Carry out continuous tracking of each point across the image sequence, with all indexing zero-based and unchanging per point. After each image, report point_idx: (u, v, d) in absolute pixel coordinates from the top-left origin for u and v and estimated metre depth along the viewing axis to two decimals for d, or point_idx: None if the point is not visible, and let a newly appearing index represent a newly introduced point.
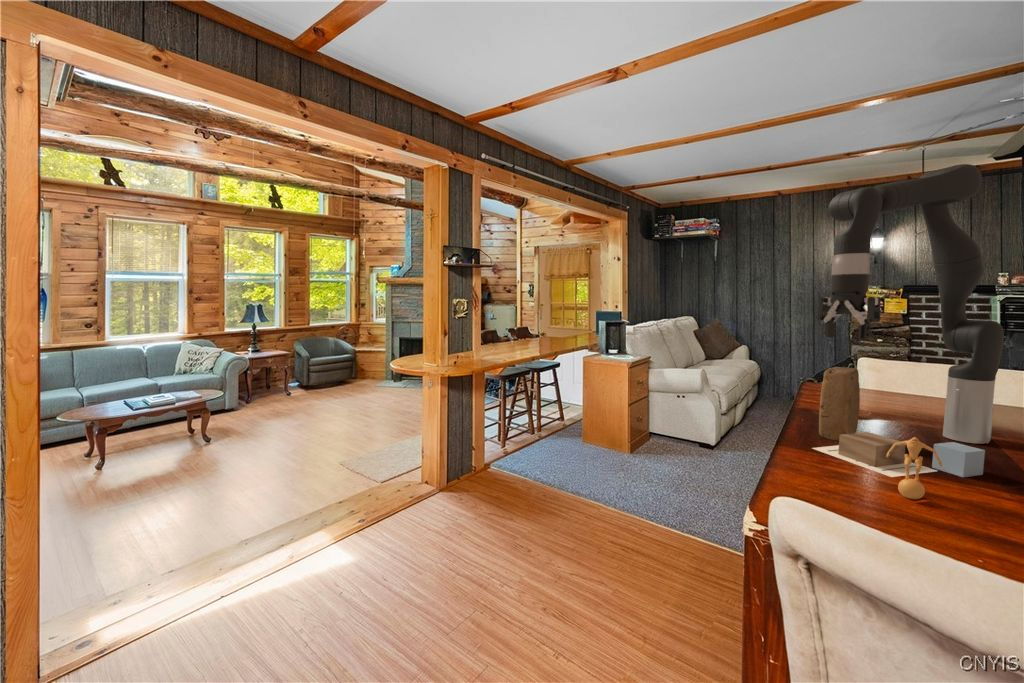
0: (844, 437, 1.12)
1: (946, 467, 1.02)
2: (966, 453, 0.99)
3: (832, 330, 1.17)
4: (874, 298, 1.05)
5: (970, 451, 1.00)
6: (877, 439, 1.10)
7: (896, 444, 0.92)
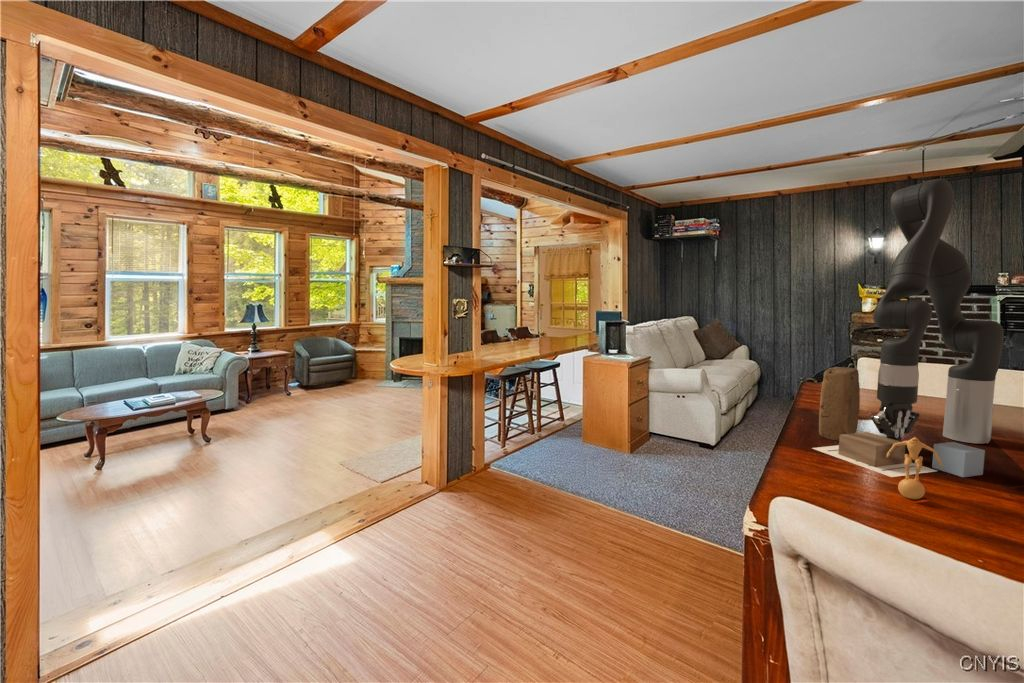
0: (844, 437, 1.12)
1: (946, 467, 1.02)
2: (966, 453, 0.99)
3: None
4: None
5: (970, 451, 1.00)
6: (877, 439, 1.10)
7: (896, 444, 0.92)
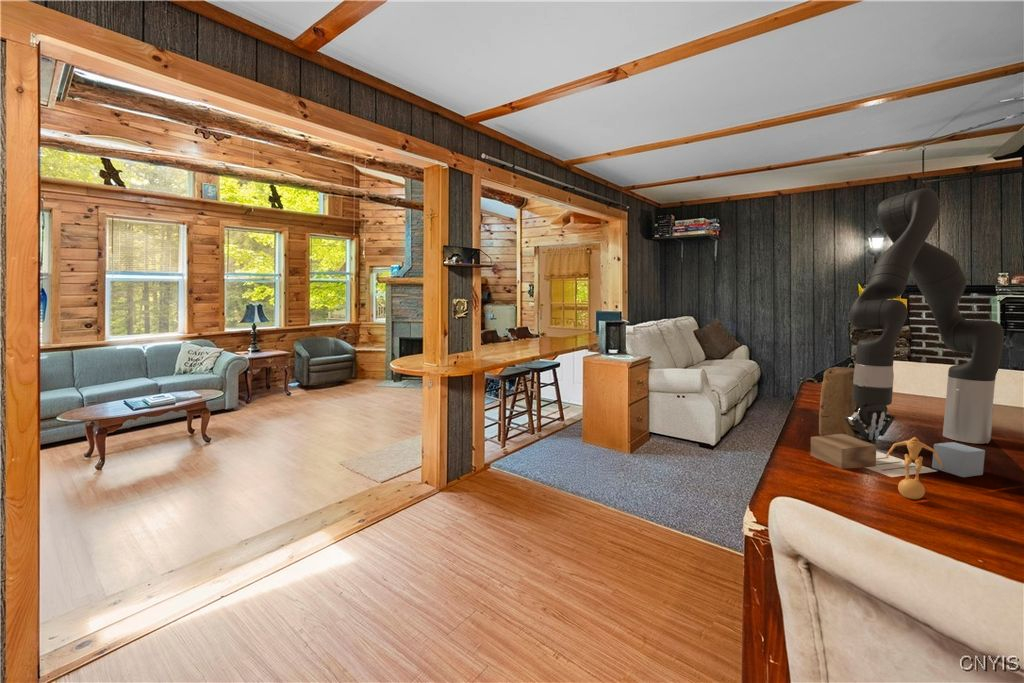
0: (815, 439, 1.12)
1: (946, 467, 1.02)
2: (966, 453, 0.99)
3: None
4: None
5: (970, 451, 1.00)
6: (848, 441, 1.08)
7: (896, 444, 0.92)
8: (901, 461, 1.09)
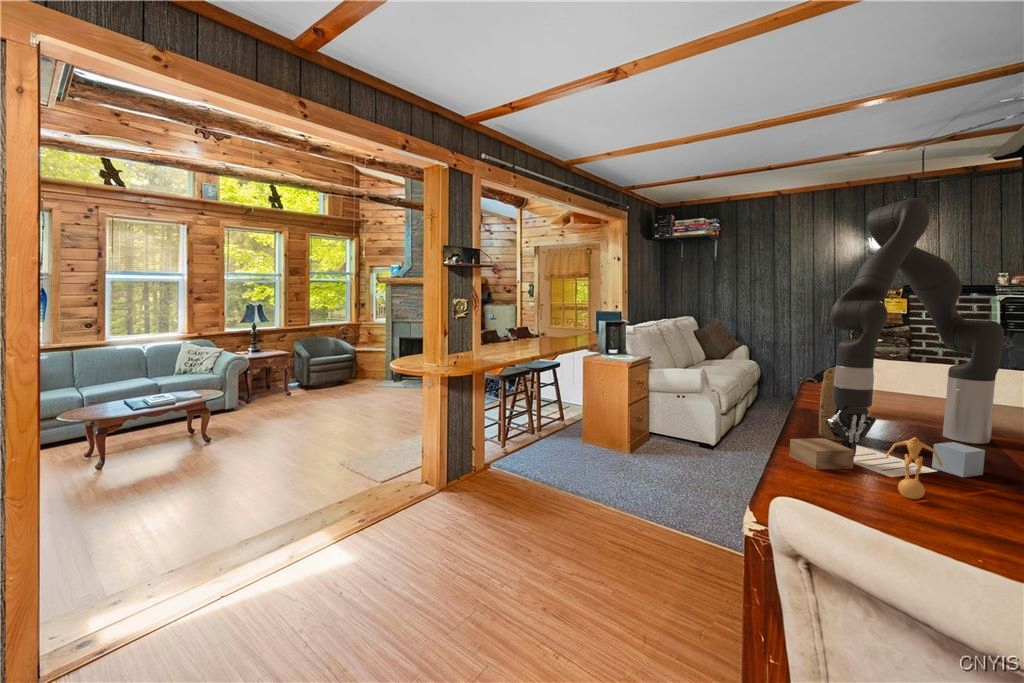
0: (793, 441, 1.11)
1: (946, 467, 1.02)
2: (966, 453, 0.99)
3: None
4: None
5: (970, 451, 1.00)
6: (826, 445, 1.08)
7: (896, 444, 0.92)
8: (901, 461, 1.09)
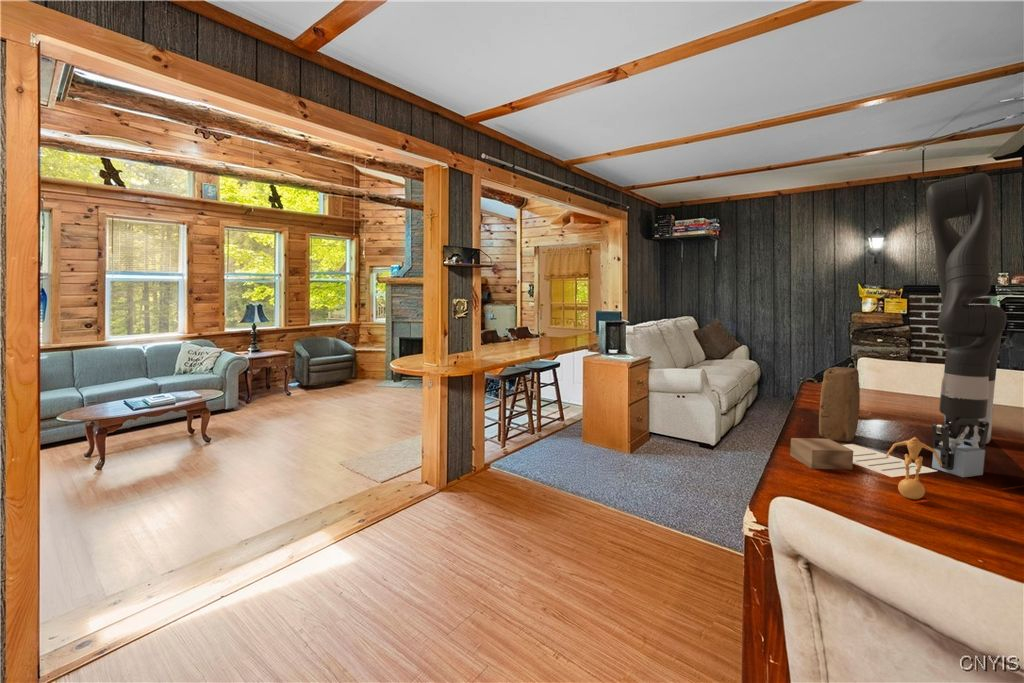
0: (793, 440, 1.12)
1: None
2: (966, 453, 0.99)
3: None
4: None
5: (970, 451, 1.00)
6: (826, 445, 1.07)
7: (896, 444, 0.92)
8: (901, 461, 1.09)
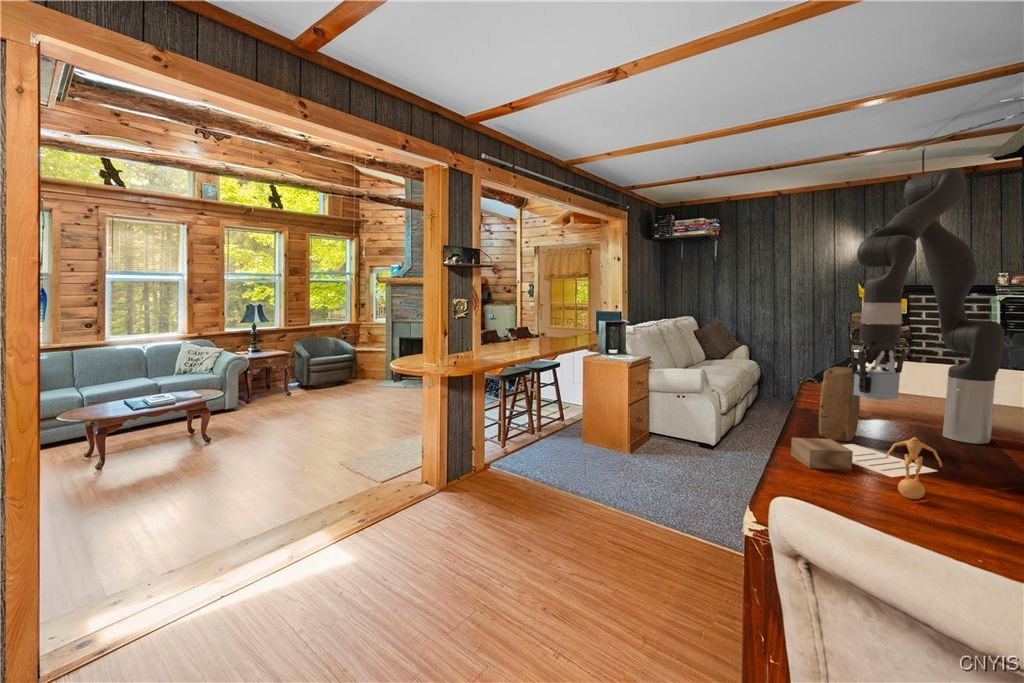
0: (794, 440, 1.12)
1: None
2: (881, 375, 1.05)
3: None
4: None
5: (885, 374, 1.06)
6: (825, 445, 1.07)
7: (896, 444, 0.92)
8: (901, 461, 1.09)
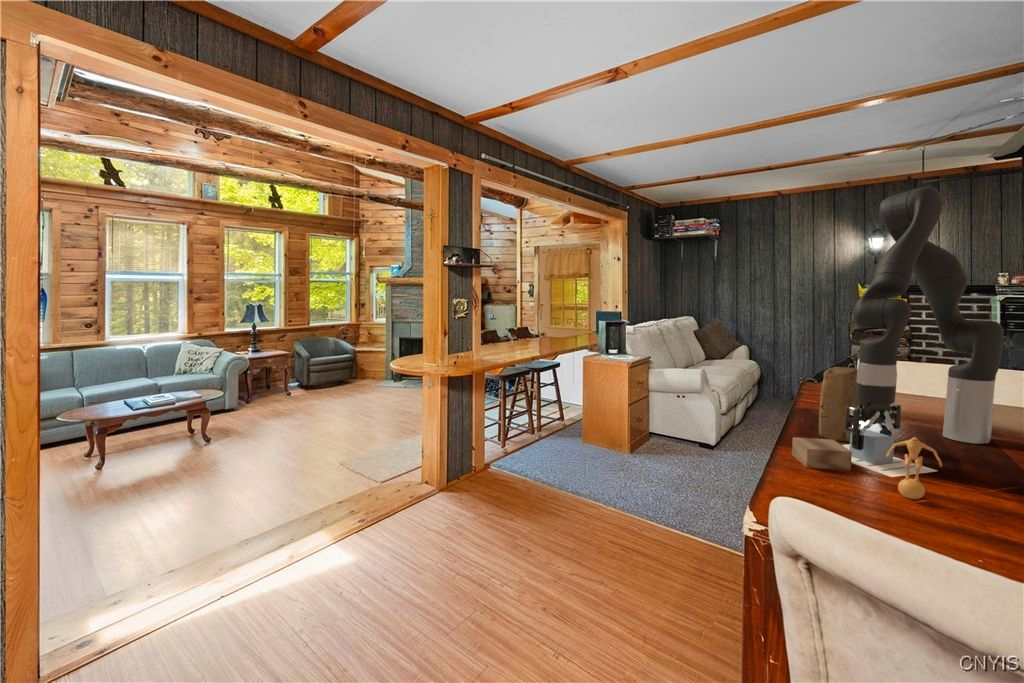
0: (794, 440, 1.12)
1: (860, 453, 1.10)
2: (876, 440, 1.07)
3: None
4: None
5: (880, 438, 1.07)
6: (825, 445, 1.07)
7: (896, 444, 0.92)
8: (901, 461, 1.09)
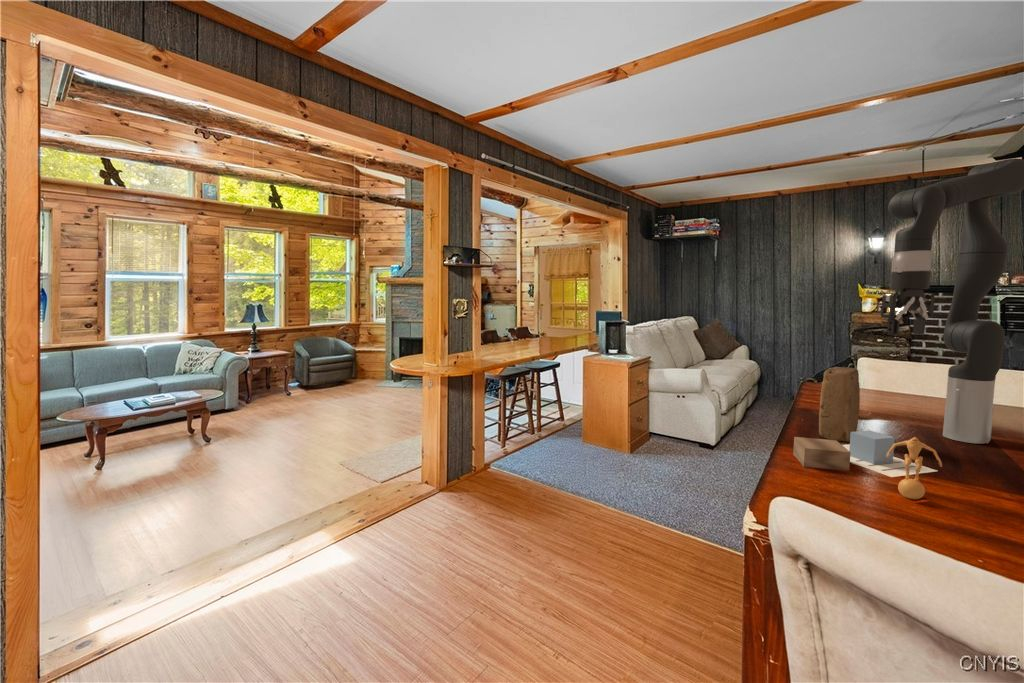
0: (795, 439, 1.13)
1: (860, 453, 1.10)
2: (876, 440, 1.07)
3: None
4: None
5: (880, 438, 1.07)
6: (825, 445, 1.07)
7: (896, 444, 0.92)
8: (901, 461, 1.09)
